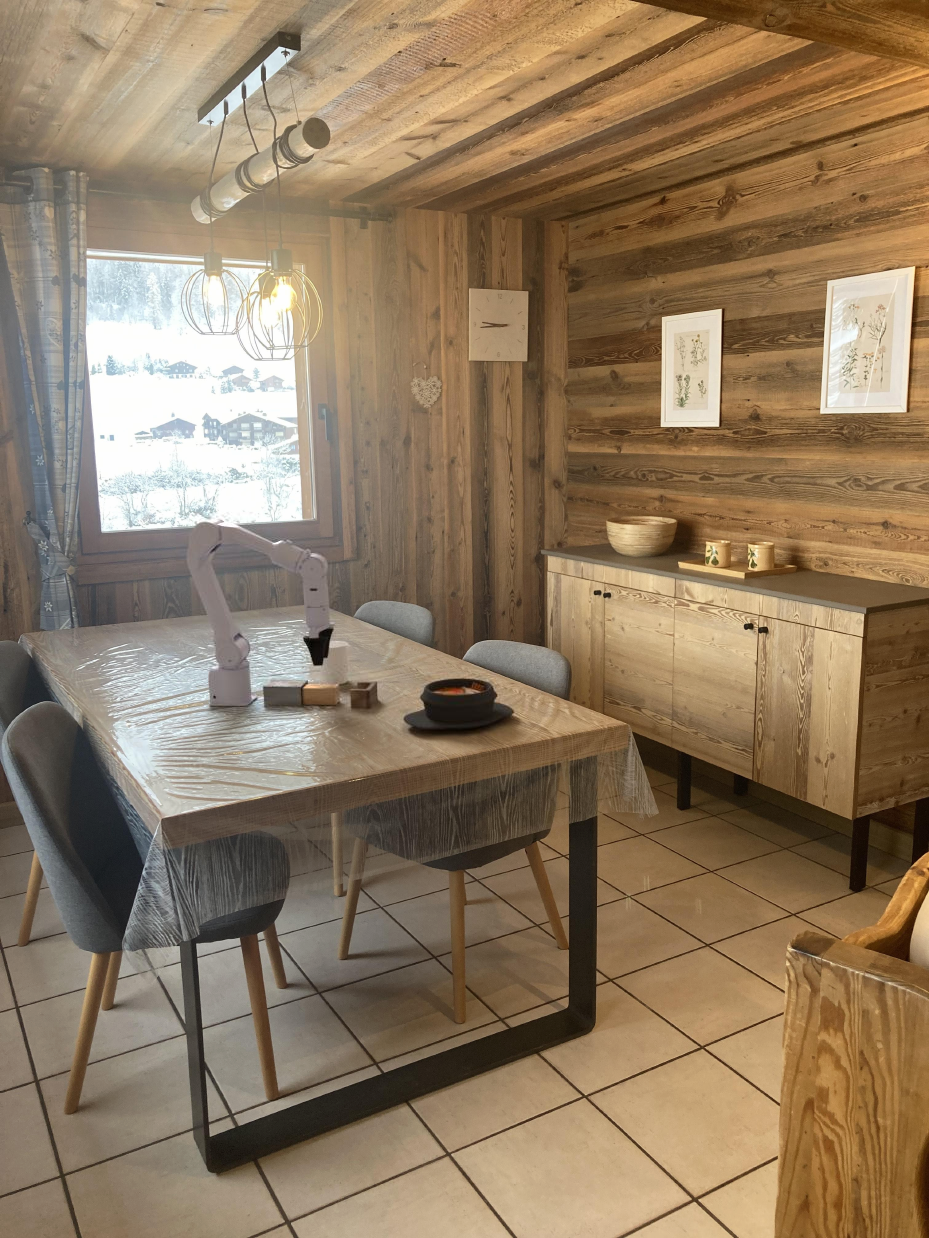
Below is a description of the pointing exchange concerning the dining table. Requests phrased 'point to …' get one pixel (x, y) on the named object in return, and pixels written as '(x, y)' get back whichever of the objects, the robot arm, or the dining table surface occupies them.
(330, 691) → the tan wooden bar
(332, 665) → the white cup
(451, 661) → the dining table surface
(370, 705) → the socket
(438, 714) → the casserole
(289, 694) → the sleeve
